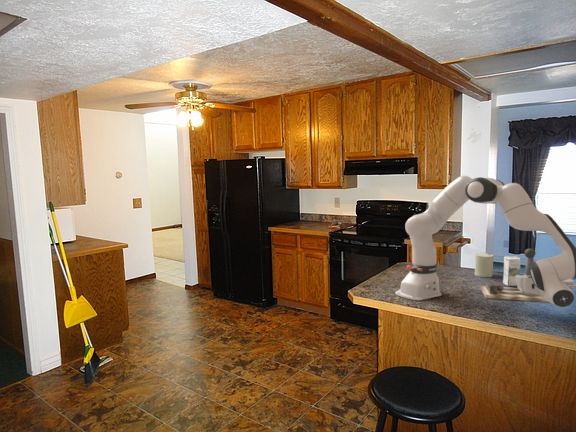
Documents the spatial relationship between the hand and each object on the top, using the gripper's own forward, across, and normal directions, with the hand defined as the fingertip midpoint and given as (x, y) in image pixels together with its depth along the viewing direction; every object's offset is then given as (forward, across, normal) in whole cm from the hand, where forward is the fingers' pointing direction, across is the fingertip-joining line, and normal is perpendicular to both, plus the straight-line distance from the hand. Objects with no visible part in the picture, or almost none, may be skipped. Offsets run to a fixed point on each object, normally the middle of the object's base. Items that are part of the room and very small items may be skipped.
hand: (537, 277), depth 171 cm
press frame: (+12, +6, +12) cm, 19 cm away
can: (+47, +13, +13) cm, 50 cm away
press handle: (+12, +1, +10) cm, 16 cm away
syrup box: (+30, +3, +13) cm, 33 cm away
